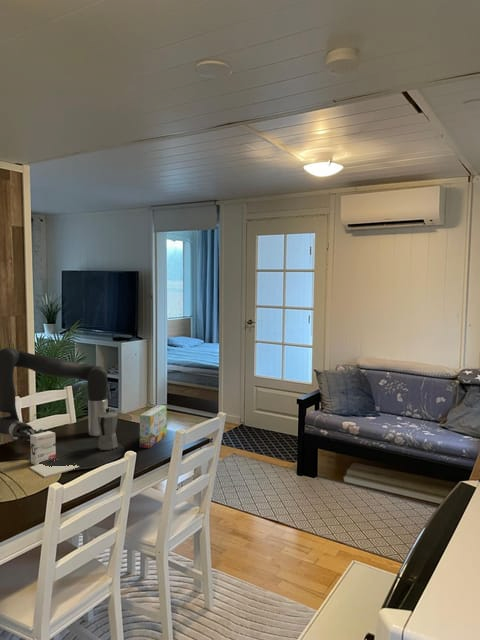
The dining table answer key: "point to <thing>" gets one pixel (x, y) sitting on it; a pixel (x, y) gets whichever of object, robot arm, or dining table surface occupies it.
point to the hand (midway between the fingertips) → (36, 439)
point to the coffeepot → (107, 430)
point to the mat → (51, 469)
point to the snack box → (153, 426)
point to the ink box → (42, 447)
